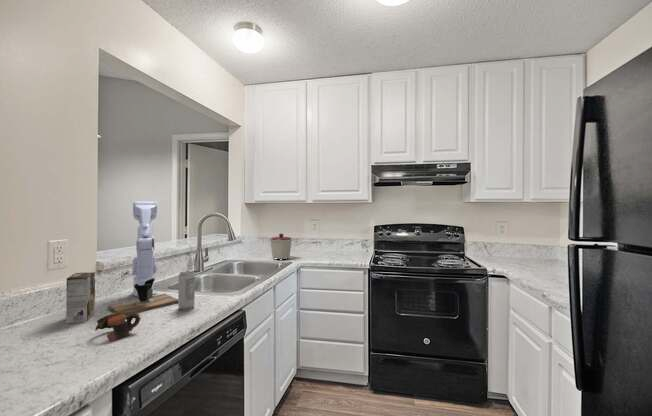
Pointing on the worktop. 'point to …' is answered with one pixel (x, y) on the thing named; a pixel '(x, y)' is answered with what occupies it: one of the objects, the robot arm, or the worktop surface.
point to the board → (143, 304)
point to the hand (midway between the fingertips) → (144, 298)
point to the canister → (281, 247)
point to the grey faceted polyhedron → (149, 295)
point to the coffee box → (80, 297)
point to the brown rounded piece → (118, 324)
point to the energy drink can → (186, 289)
